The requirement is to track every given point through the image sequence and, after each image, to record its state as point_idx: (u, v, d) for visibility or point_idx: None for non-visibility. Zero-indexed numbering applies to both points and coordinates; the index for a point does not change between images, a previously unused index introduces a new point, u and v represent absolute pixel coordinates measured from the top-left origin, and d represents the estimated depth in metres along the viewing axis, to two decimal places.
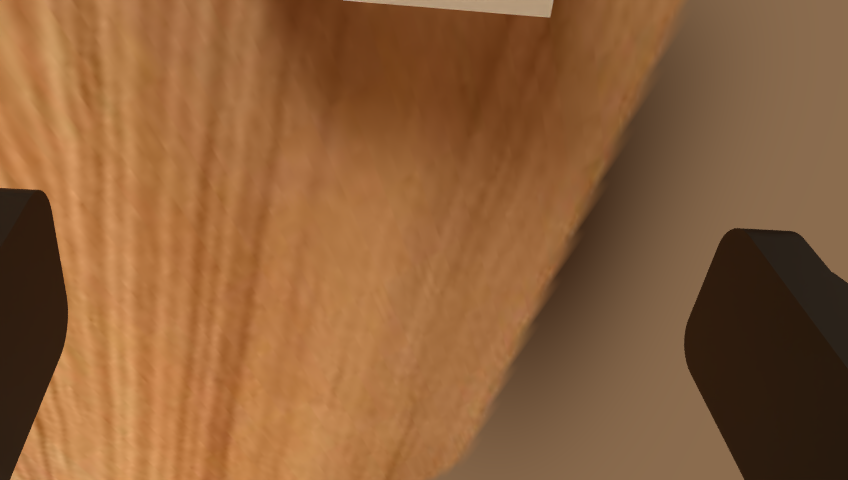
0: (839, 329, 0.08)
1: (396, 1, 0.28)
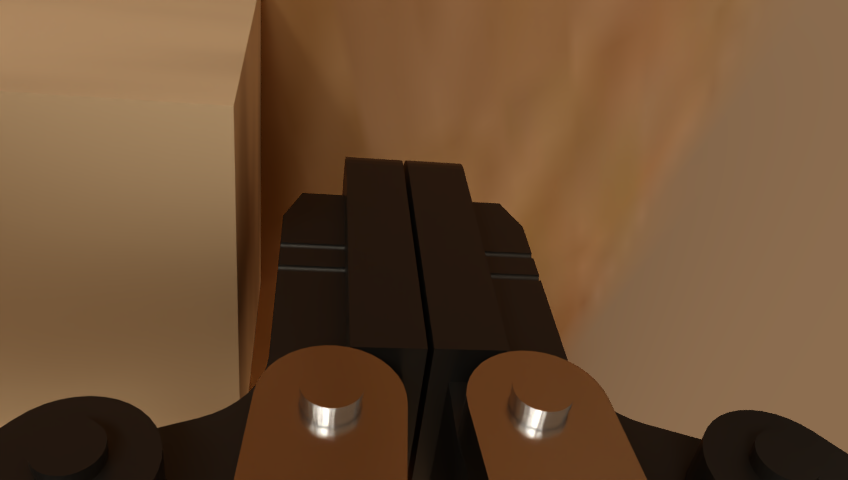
0: (442, 244, 0.08)
1: None
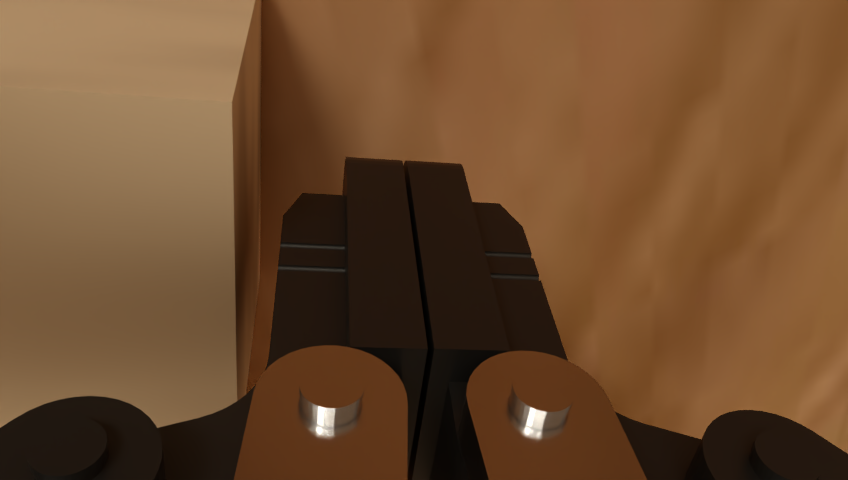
0: (442, 245, 0.08)
1: None
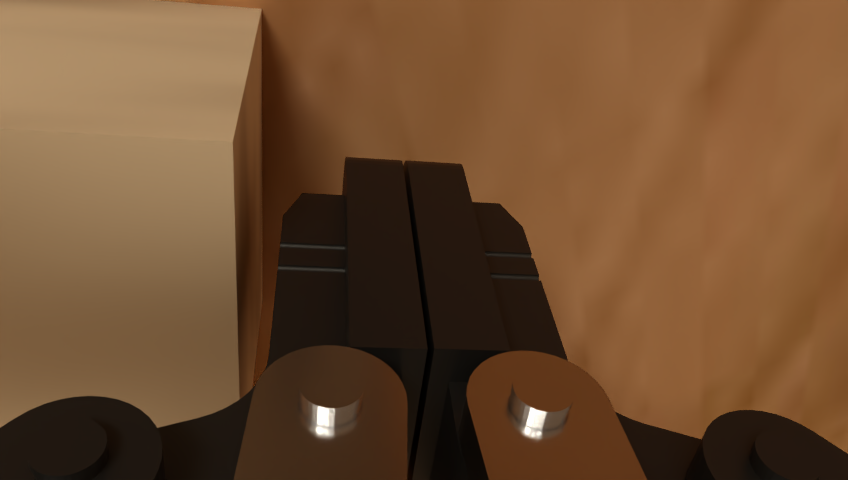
0: (442, 244, 0.08)
1: None
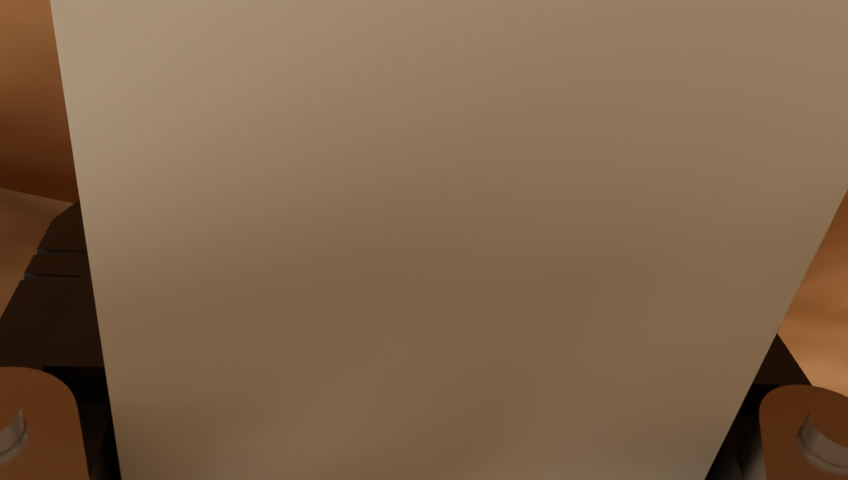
0: None
1: None
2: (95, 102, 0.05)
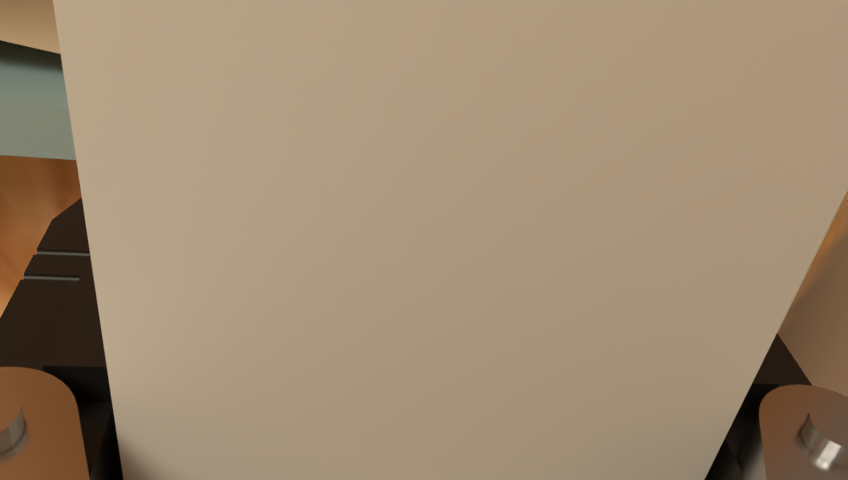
0: None
1: None
2: (98, 102, 0.05)
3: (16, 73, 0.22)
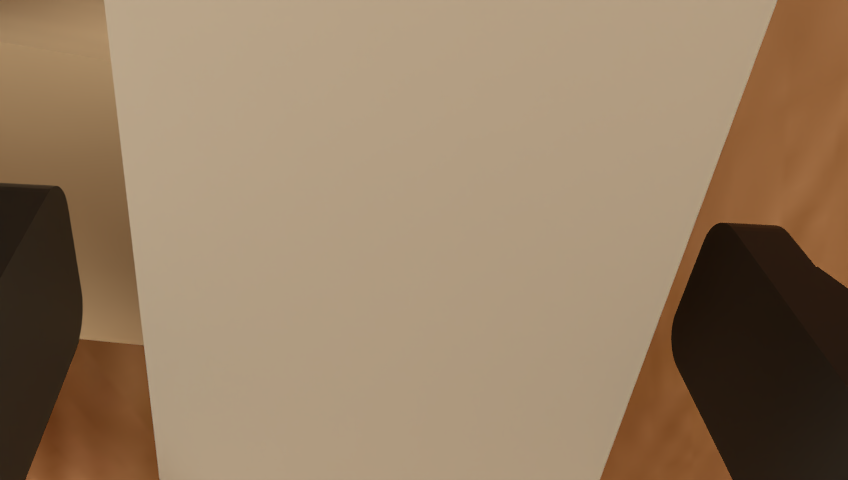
0: (821, 322, 0.08)
1: (632, 361, 0.08)
2: (128, 6, 0.06)
3: None
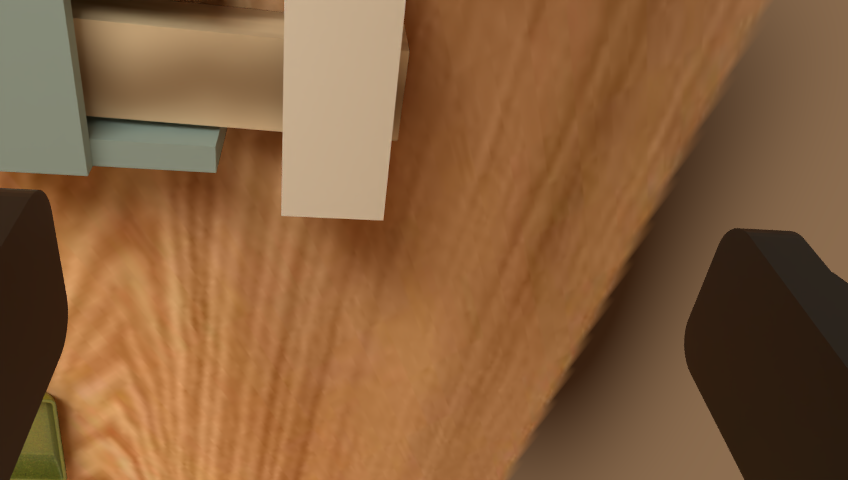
0: (839, 329, 0.08)
1: (392, 105, 0.36)
2: (288, 24, 0.33)
3: (163, 125, 0.41)
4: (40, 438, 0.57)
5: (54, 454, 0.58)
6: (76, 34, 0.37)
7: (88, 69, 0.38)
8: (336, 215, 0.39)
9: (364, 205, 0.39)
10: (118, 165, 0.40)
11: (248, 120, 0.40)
